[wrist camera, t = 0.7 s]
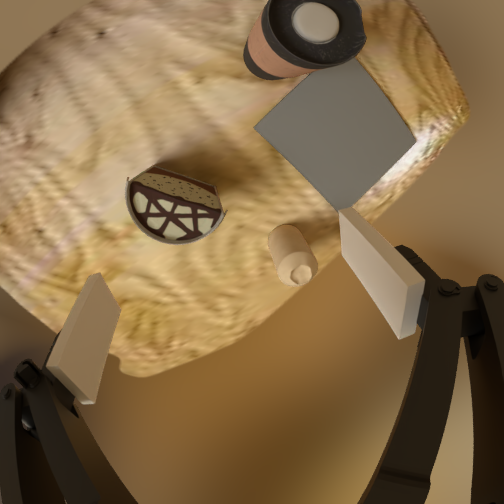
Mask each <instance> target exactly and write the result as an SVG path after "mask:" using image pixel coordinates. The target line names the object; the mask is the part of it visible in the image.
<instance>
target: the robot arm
mask: <svg viewBox="0 0 504 504" xmlns="http://www.w3.org/2000/svg"><path fill="white" fill-rule="evenodd" d="M338 212H339V223H340V235H341V249H342V256H343V257H344V259H345V260H346V261H347V263H348V264H349V266H350V267H351V268H352V270H353V271H354V273H355V274H356V276H357V277H358V278H359V280H360V281H361V283H362V284H363V286H364V287H365V288H366V290H367V292H368V293H369V295H370V296H371V297H372V299H373V300H374V302H375V303H376V305H377V306H378V308H379V309H380V311H381V313H382V314H383V316H384V317H385V319H386V320H387V322H388V323H389V325H390V326H391V328H392V330H393V331H394V333H395V334H396V336H397V337H398V339H402V338H404V337H407V336H409V335H412V334H414V333H415V329H416V325H417V324H418V325H419V327H420V328H421V329H422V331H421V335H420V339H419V342H418V346H417V347H418V348H417V352H416V356H415V360H414V364H413V368H412V371H411V375H410V378H409V382H408V385H407V389H406V392H405V395H404V398H403V401H402V404H401V407H400V410H399V413H398V416H397V419H396V421H395V424H394V427H393V429H392V432H391V434H390V437H389V440H388V442H387V445H386V447H385V449H384V451H383V454H382V456H381V458H380V460H379V463H378V465H377V467H376V469H375V471H374V473H373V476H372V478H371V480H370V482H369V484H368V486H367V488H366V489H365V491H364V493H363V494H362V496H361V498H360V500H359V502H358V503H357V504H424V503H425V500H426V498H427V495H428V493H429V490H430V485H431V483H430V475H431V471H432V469H433V466H434V463H435V460H436V457H437V454H438V450H439V447H440V444H441V440H442V437H443V433H444V430H445V425H446V421H447V417H448V413H449V409H450V404H451V399H452V394H453V389H454V383H455V378H456V371H457V364H458V356H459V348H460V338H461V337H463V338H464V343H465V349H466V355H467V361H468V369H469V376H470V384H471V394H472V395H471V396H472V408H473V432H474V452H473V454H474V455H473V475H472V488H471V504H504V283H503V281H502V280H501V279H500V278H498V277H497V276H494V275H491V274H485V275H482V276H480V277H479V279H478V281H477V284H476V286H470V287H461V286H460V285H459V284H458V283H456V282H455V281H453V280H449V279H441V278H440V277H439V276H438V275H437V274H436V273H435V272H434V271H433V270H432V269H431V268H430V267H429V266H428V265H427V264H426V263H425V262H423V260H422V259H421V258H420V257H418V255H417V254H416V253H415V252H414V251H413V250H412V249H410V248H408V247H405V246H403V245H400V246H396V247H393V246H392V245H391V244H390V243H389V242H388V241H387V240H386V239H385V238H384V237H383V236H382V235H381V234H380V233H379V232H378V231H377V230H376V229H375V228H374V227H373V226H372V225H371V224H370V223H368V222H367V221H366V220H365V219H364V218H363V217H362V216H361V215H360V214H359V213H358V212H357V211H356V210H354V209H353V208H352V207H350V208H345V209H341V210H338ZM120 312H121V309H120V307H119V305H118V304H117V302H116V300H115V298H114V297H113V295H112V293H111V291H110V290H109V288H108V286H107V284H106V283H105V281H104V279H103V277H102V275H101V273H97V274H93V275H90V276H89V277H88V279H87V281H86V283H85V285H84V286H83V288H82V290H81V292H80V294H79V296H78V298H77V300H76V302H75V304H74V306H73V308H72V309H71V312H70V314H69V316H68V318H67V320H66V322H65V324H64V326H63V328H62V329H61V331H60V332H59V333H58V335H57V336H56V337H55V340H54V342H53V346H51V349H50V352H49V353H48V355H47V358H46V360H45V363H44V365H43V367H42V370H40V368H39V367H38V366H37V365H36V364H35V363H34V362H33V361H32V360H31V359H26V360H24V361H22V362H21V363H20V364H19V365H18V366H17V368H16V369H15V372H14V378H15V379H16V380H17V381H18V382H19V383H20V384H21V385H22V386H23V388H21V389H18V388H17V387H16V386H15V385H14V384H13V383H9V384H7V385H6V386H4V387H3V389H2V390H1V393H0V488H1V496H2V503H3V504H66V503H65V500H66V502H67V504H138V503H137V501H136V500H135V499H134V497H133V496H132V495H131V493H130V492H129V491H128V489H127V488H126V487H125V485H124V484H123V483H122V481H121V480H120V479H119V477H118V475H117V474H116V472H115V471H114V469H113V468H112V466H111V465H110V463H109V462H108V460H107V459H106V457H105V455H104V454H103V452H102V451H101V449H100V447H99V446H98V444H97V442H96V440H95V439H94V437H93V435H92V434H91V432H90V430H89V428H88V426H87V424H86V423H85V421H84V419H83V417H82V415H81V413H80V411H79V409H78V407H77V406H76V405H75V404H74V403H73V401H74V398H75V397H76V398H77V399H78V400H79V401H80V402H81V403H82V404H95V401H96V397H97V392H98V388H99V384H100V380H101V377H102V373H103V369H104V365H105V362H106V358H107V355H108V351H109V348H110V344H111V341H112V338H113V334H114V331H115V328H116V325H117V322H118V318H119V315H120ZM22 422H23V423H24V424H25V425H27V430H25V429H24V428H23V425H22ZM64 498H65V499H64Z"/></svg>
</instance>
